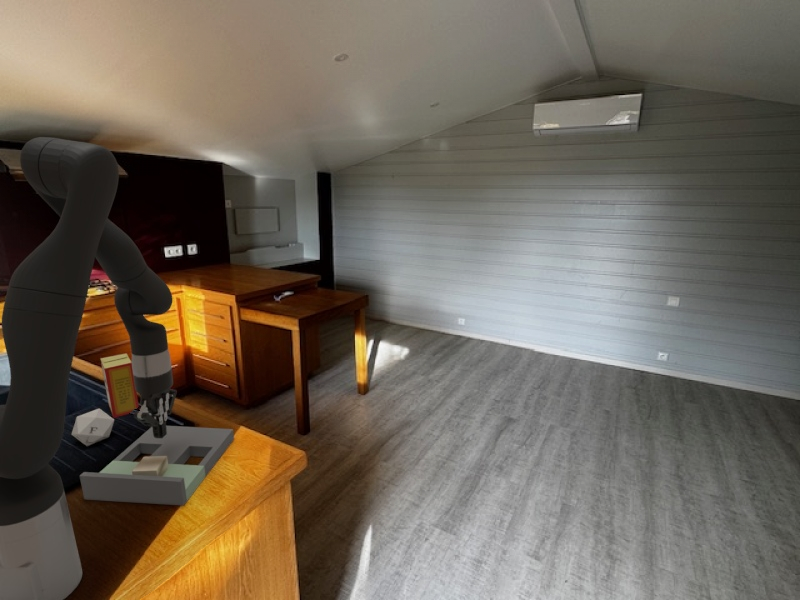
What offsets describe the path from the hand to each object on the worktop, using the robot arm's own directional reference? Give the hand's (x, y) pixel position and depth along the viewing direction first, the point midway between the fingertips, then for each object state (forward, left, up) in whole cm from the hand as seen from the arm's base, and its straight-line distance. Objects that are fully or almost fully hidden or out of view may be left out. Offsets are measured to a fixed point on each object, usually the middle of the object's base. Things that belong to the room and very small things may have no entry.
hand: (160, 436), depth 96 cm
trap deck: (0, -1, -8) cm, 8 cm away
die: (+9, +24, -9) cm, 27 cm away
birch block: (-7, -2, -5) cm, 9 cm away
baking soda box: (+25, +28, -9) cm, 39 cm away
